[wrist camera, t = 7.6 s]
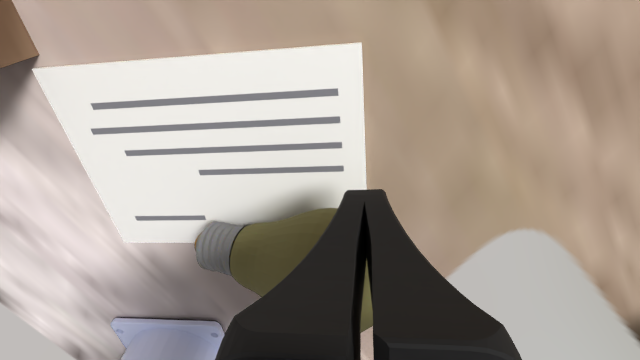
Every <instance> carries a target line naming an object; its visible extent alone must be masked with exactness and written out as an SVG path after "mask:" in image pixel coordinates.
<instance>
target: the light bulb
mask: <svg viewBox="0 0 640 360" xmlns="http://www.w3.org/2000/svg"><path fill="white" fill-rule="evenodd" d="M337 209H338V208H322V209H316V210H312V211H307V212H304V213H301V214H298V215H295V216H293V217H290V218H287V219H283V220H280V221H275V222H263V223H254V224H248V225H245V226H243V225H236V224H230V223H224V222H218V221H213V222H211V223H210V224H208V225H207V226H206V227H205V228H204V230H203V231H202V232H201V233H200V234H199V235H198V237H197V238H196V240H195V250H196V256H197V261H198V264H199V265H200V266H201V267H202V268H203V269H208V270H211V271H218V272H220V273H224V274H227V275H231V276H232V277H233V278H234V279H235V280H236V281H237V282H238V283H239V284H241V285H242V286H244V287H246V288H248V289H250V290H252V291H254V292H255V293H257V294H258V295H260V296H261V297H263V296H264V295H265V294H267V293H268V292H269V291H270V290H271V289H272V288H274V287H275V286H276V285H277V284H278V283H280V282H281V281H282V280H283V279H284V278H285V277H286V276H287V275H288V274H289V273H290V272H291V271H292V270H293V269H294V268H295V267H296V266H297V265H298V264H299V263H300V262H301V261H302V260H303V259H304V257H305V256H306V255H307V254H308V253H309V252H310V250H311V249H312V248H313V246H314V245H315V244H316V243H317V241H318V240H319V238H320V237H321V235H322V234H323V233H324V231H325V230H326V228H327V227H328V225H329V223H330V222H331V220H332V218H333V216H334V215H335V213H336V211H337ZM372 326H373V310H372V301H371V293H370V284H369V275H368V267H367V259H366V270H365V280H364V290H363V300H362V310H361V329H360V333H361V332H363V331H365V330H366V329H368V328H370V327H372Z"/></svg>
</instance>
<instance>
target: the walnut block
mask: <svg viewBox="0 0 640 360" xmlns="http://www.w3.org/2000/svg"><path fill="white" fill-rule="evenodd" d="M38 55H39V53H38V51H37V49H36V47H35V45H34V43H33V42H32V40H31V38H30V36H29V34H28V32H27V30H26V28H25V26H24V24H23V22H22V20H21V18H20V16H19V14H18V12H17V10H16V8H15V6H14V4H13V2H12V0H0V68H2V67H5V66H8V65H11V64H14V63H17V62H20V61H23V60H26V59H29V58H32V57H35V56H38Z"/></svg>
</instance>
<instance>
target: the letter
mask: <svg viewBox="0 0 640 360" xmlns="http://www.w3.org/2000/svg"><path fill="white" fill-rule="evenodd" d="M32 71H33V73H34V75H35V77H36V78H37V80H38V82H39V84H40V86H41V88H42V90H43V92H44V93H45V95H46V97H47V99H48V101H49V103H50V105H51V107H52V109H53V110H54V112H55V114H56V116H57V118H58V120H59V122H60V124H61V125H62V127H63V129H64V131H65V133H66V135H67V137H68V139H69V140H70V142H71V144H72V146H73V148H74V150H75V152H76V154H77V155H78V157H79V159H80V161H81V163H82V165H83V167H84V169H85V170H86V172H87V174H88V176H89V178H90V180H91V182H92V184H93V185H94V187H95V189H96V191H97V193H98V195H99V197H100V199H101V200H102V202H103V204H104V206H105V208H106V210H107V212H108V214H109V215H110V217H111V219H112V221H113V223H114V225H115V227H116V229H117V231H118V232H119V234H120V236H121V238H122V240H123V242H124V243H195V240H196V238H197V237H198V235H199V234H200V233H201V232H202V231H203V230H204V228H205V227H206V226H207V225H208V224H210V223H211V222H213V221H218V222H224V223H230V224H236V225H243V226H245V225H248V224H254V223H263V222H275V221H280V220H283V219H287V218H290V217H293V216H295V215H298V214H301V213H304V212H307V211H312V210H316V209H322V208H338V207H339V205H340V203H341V201H342V199H343V196H344V193H345V192H346V191H347V190H367V186H366V156H365V126H364V96H363V66H362V42H359V43H346V44H333V45H320V46H308V47H295V48H282V49H269V50H257V51H244V52H231V53H219V54H206V55H193V56H180V57H168V58H155V59H142V60H129V61H117V62H104V63H91V64H79V65H66V66H53V67H40V68H33V69H32Z"/></svg>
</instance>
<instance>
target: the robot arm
mask: <svg viewBox="0 0 640 360" xmlns="http://www.w3.org/2000/svg"><path fill="white" fill-rule="evenodd" d="M366 259H367V267H368V275H369V284H370V293H371V301H372V310H373V347H374V360H522V359H521V357H520V354H519V352H518V351H517V349H516V347H515V345H514V343H513V341H512V339H511V337H510V336H509V334H508V332H507V331H506V329H505V327H504V326H503V325H502V324H501V323H500V322H498V321H497V320H495V319H494V318H493V317H491V316H490V315H489V314H487V313H486V312H484V311H483V310H481V309H480V308H479V307H477V306H476V305H474V304H473V303H472V302H471V301H470V300H468V299H467V298H466V297H465V296H463V295H462V294H461V293H460V292H459V291H458V290H457V289H456V288H454V287H453V286H452V285H451V284H450V283H449V282H448V281H447V280H446V279H445V278H444V277H443V276H442V275H441V274H440V273H439V272H438V271H437V270H436V269H435V268H434V267H433V266H432V265H431V264H430V263H429V262H428V260H427V259H426V258H425V257H424V256H423V255H422V254H421V252H420V251H419V250H418V249H417V247H416V246H415V245H414V243H413V242H412V240H411V239H410V238H409V236H408V235H407V233H406V232H405V230H404V229H403V227H402V226H401V224H400V222H399V221H398V219H397V217H396V216H395V214H394V212H393V210H392V208H391V206H390V204H389V201H388V199H387V196H386V193H385V191H383V190H382V189H377V190H347V191H346V192H345V193H344V196H343V199H342V201H341V203H340V205H339V207H338V209H337V211H336V213H335V215H334V216H333V218H332V220H331V222H330V223H329V225H328V227H327V228H326V230H325V231H324V233H323V234H322V235H321V237H320V238H319V240H318V241H317V243H316V244H315V245H314V246H313V248H312V249H311V250H310V252H309V253H308V254H307V255H306V256H305V257H304V259H303V260H302V261H301V262H300V263H299V264H298V265H297V266H296V267H295V268H294V269H293V270H292V271H291V272H290V273H289V274H288V275H287V276H286V277H285V278H284V279H283V280H282V281H281V282H280V283H278V284H277V285H276V286H275V287H274V288H272V289H271V290H270V291H269V292H268V293H267V294H265V295H264V296H263V297H262V298H260V299H259V300H258V301H256V302H255V303H253V304H252V305H250V306H249V307H247V308H246V309H245V310H243V311H242V312H240V313H239V314H237V315H235V316H234V318H233V320H232V322H231V323H230V325H229V327H228V329H227V331H226V333H225V334H224V332H223V329H222V327H221V325H220V324H219V323H218V322H215V321H192V320H163V319H134V318H115V319H113V321H112V322H111V324H110V325H111V327H112V329H113V330H114V332H115V333H116V334H117V336H118V337H119V339H120V340H121V342H122V343H123V345H124V346H125V348H126V351H125V353H124V355H123V356H122V358H121V360H360V329H361V310H362V300H363V290H364V280H365V270H366Z"/></svg>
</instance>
